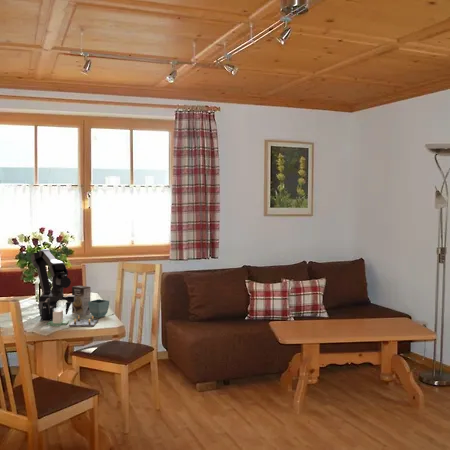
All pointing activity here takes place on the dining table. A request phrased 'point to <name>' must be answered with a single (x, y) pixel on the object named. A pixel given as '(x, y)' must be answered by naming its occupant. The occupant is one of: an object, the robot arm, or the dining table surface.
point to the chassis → (84, 322)
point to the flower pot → (98, 307)
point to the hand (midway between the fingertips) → (57, 314)
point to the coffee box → (81, 300)
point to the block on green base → (57, 319)
